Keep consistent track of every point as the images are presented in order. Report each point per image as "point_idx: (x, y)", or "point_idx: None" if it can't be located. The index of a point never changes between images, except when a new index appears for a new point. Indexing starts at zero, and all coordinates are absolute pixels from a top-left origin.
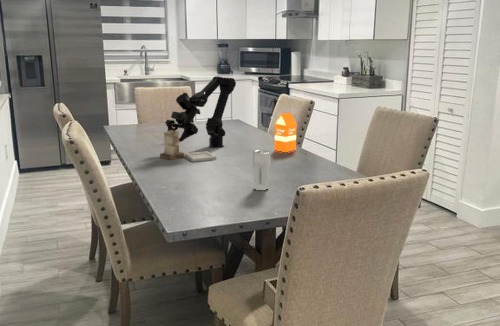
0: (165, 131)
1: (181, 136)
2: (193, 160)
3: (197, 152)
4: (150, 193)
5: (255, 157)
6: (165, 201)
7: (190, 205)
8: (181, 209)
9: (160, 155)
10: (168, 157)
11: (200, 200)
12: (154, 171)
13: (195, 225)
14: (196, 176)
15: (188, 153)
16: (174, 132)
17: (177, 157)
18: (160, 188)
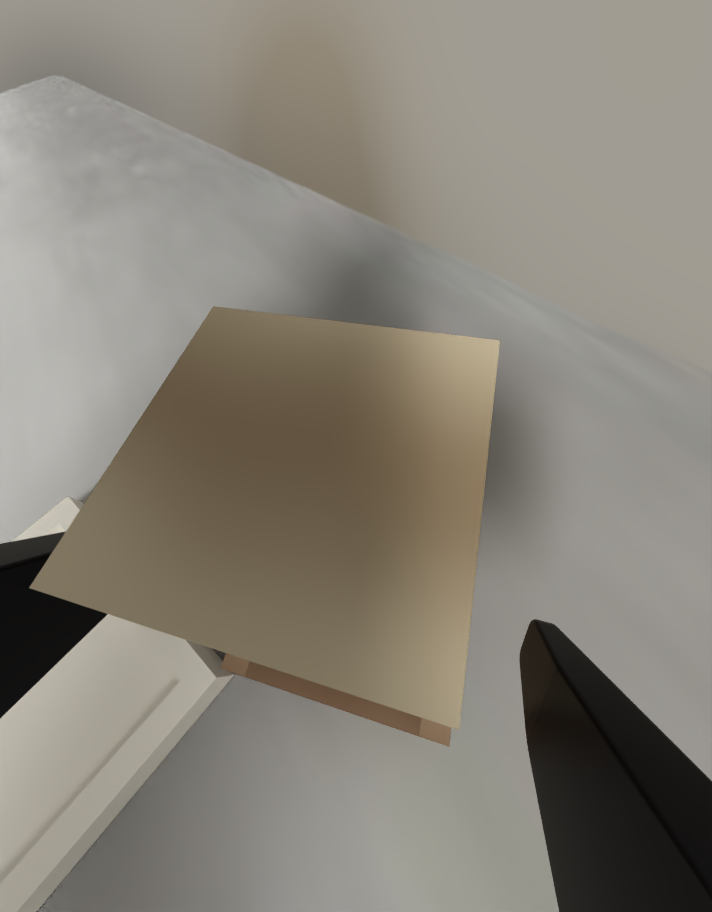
0: (487, 382)
1: (42, 545)
2: (81, 504)
3: (50, 835)
4: (164, 132)
5: None
6: (101, 122)
7: (29, 130)
8: (49, 115)
9: None
10: None
11: (3, 152)
12: (270, 255)
13: (9, 94)
14: (33, 279)
15: (167, 695)
16: (153, 410)
17: None
18: (149, 159)
